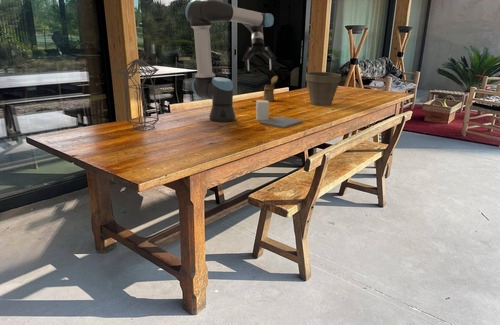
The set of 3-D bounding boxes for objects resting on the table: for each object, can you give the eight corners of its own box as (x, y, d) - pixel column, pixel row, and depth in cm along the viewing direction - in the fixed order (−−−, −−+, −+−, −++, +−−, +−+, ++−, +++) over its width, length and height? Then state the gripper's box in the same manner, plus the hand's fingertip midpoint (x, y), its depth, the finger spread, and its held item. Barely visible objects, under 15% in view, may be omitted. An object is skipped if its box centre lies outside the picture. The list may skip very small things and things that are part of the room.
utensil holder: (280, 99, 297) (281, 75, 291) (269, 101, 287) (270, 77, 281) (271, 98, 302) (272, 74, 296) (260, 100, 293) (260, 75, 287)
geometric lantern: (143, 133, 192) (136, 60, 181) (121, 130, 200) (113, 59, 189) (165, 127, 205) (160, 58, 194) (144, 124, 213) (137, 57, 202)
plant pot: (341, 107, 271) (344, 76, 264) (306, 106, 271) (308, 75, 265) (334, 101, 295) (337, 72, 288) (302, 100, 295) (304, 71, 288)
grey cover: (268, 120, 228) (269, 102, 224) (257, 120, 227) (257, 102, 224) (266, 117, 234) (267, 100, 230) (255, 117, 233) (256, 100, 230)
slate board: (283, 128, 210) (283, 126, 210) (259, 123, 219) (259, 121, 219) (302, 122, 225) (303, 120, 225) (280, 118, 234) (280, 116, 234)
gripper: (276, 44, 251) (279, 72, 243) (238, 45, 250) (239, 73, 242) (277, 36, 244) (280, 64, 236) (237, 37, 243) (239, 66, 235)
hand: (259, 69), depth 239 cm, fingers open, 13 cm apart
